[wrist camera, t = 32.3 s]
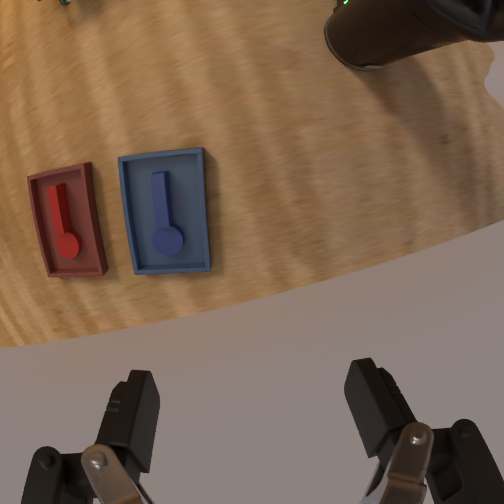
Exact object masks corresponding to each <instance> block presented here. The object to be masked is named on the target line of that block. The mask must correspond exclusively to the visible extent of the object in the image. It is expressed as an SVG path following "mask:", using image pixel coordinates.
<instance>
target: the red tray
mask: <svg viewBox="0 0 504 504" xmlns="http://www.w3.org/2000/svg"><path fill="white" fill-rule="evenodd" d="M27 180H28V188H29V195H30V201H31V207H32V212H33V217H34V222H35V227H36V232H37V236H38V240H39V245H40V249H41V252H42V256H43V260H44V263H45V267H46V270H47V274H48V277H82V276H104V274H105V273H106V272H107V271H108V266H107V262H106V258H105V253H104V248H103V243H102V238H101V233H100V228H99V222H98V216H97V210H96V203H95V196H94V189H93V181H92V172H91V162H88V163H83V164H78V165H73V166H68V167H64V168H59V169H55V170H51V171H47V172H42V173H39V174H35V175H31V176H28V177H27ZM60 183H65V189H66V196H67V202H68V208H69V214H70V220H71V225H72V229H71V230H74V231H76V232H77V233H78V234H79V236H80V238H81V240H82V249H81V252H80V253H79V254H78V255H77V256H76V257H74V258H72V259H68V258H65V257H64V256H62V255H61V254H60V252H59V251H58V249H57V245H56V240H57V237H58V235H56V234H55V229H54V225H53V220H52V214H51V209H50V203H49V197H48V190H47V188H48V187H50V186H53V185H56V184H60Z"/></svg>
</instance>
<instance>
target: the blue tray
mask: <svg viewBox="0 0 504 504" xmlns="http://www.w3.org/2000/svg"><path fill="white" fill-rule="evenodd" d="M118 162H119V163H118V167H119V177H120V186H121V195H122V202H123V210H124V217H125V223H126V230H127V236H128V242H129V247H130V253H131V258H132V263H133V268H134V273H135V275H141V274H165V273H187V272H208V271H211V254H210V242H209V229H208V216H207V201H206V186H205V168H204V148H190V149H179V150H169V151H160V152H152V153H144V154H136V155H129V156H123V157H118ZM158 171H168V173H169V185H170V196H171V206H172V216H173V224H175V225H177V226H179V227H180V228H181V230H182V231H183V234H184V243H183V246H182V248H181V250H180V251H179V252H178V253H177V254H175V255H172V256H165V255H162V254H160V253H159V252H157V251H156V249H155V248H154V246H153V244H152V236H153V233H154V231H155V230H156V229H157V226H156V218H155V210H154V202H153V193H152V183H151V174H152V173H154V172H158Z"/></svg>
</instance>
